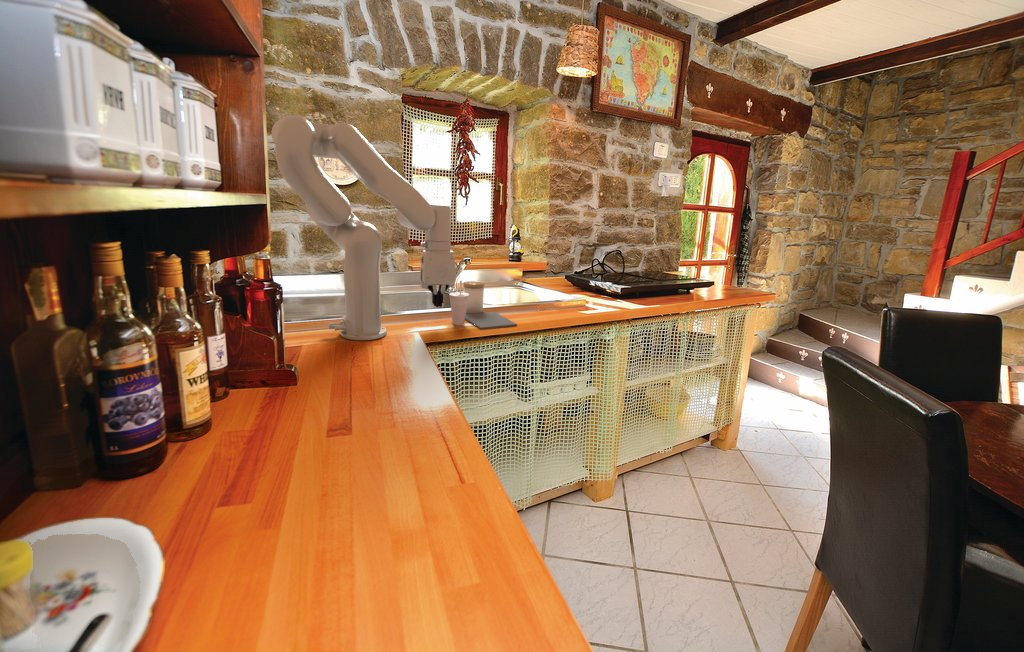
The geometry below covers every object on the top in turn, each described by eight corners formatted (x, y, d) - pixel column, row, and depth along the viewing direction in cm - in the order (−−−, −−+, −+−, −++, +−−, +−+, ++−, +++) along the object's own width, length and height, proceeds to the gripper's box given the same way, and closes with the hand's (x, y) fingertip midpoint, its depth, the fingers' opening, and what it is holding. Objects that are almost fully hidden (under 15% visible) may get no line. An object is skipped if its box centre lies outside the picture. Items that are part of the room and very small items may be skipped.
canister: (467, 314, 164) (468, 286, 162) (458, 309, 170) (459, 281, 168) (486, 313, 168) (488, 285, 165) (477, 308, 174) (478, 280, 171)
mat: (480, 329, 148) (480, 327, 148) (460, 316, 162) (460, 314, 161) (516, 325, 155) (517, 324, 154) (494, 313, 168) (494, 311, 168)
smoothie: (458, 327, 149) (460, 283, 145) (444, 323, 152) (444, 279, 149) (472, 323, 154) (474, 280, 150) (458, 319, 157) (459, 277, 153)
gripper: (417, 248, 136) (418, 311, 141) (466, 247, 143) (464, 306, 148) (409, 245, 142) (410, 305, 147) (456, 244, 149) (455, 301, 155)
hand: (437, 305), depth 148 cm, fingers closed
